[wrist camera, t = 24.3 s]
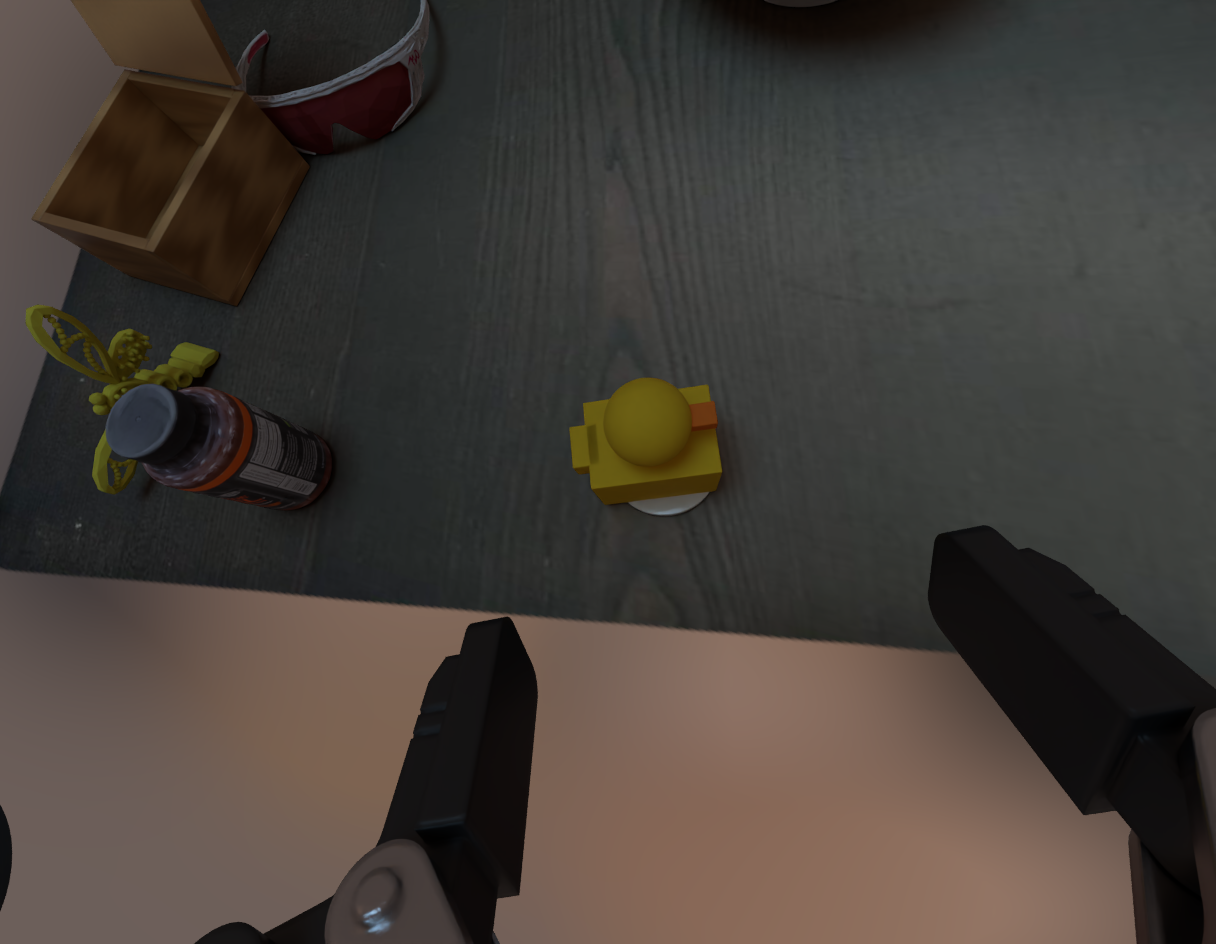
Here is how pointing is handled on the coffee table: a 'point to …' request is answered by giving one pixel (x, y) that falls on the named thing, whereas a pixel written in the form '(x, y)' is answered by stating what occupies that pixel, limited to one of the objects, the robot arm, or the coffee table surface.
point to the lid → (160, 37)
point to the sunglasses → (349, 94)
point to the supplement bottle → (219, 446)
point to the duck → (648, 442)
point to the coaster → (669, 504)
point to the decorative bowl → (800, 2)
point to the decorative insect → (118, 375)
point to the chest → (176, 185)
